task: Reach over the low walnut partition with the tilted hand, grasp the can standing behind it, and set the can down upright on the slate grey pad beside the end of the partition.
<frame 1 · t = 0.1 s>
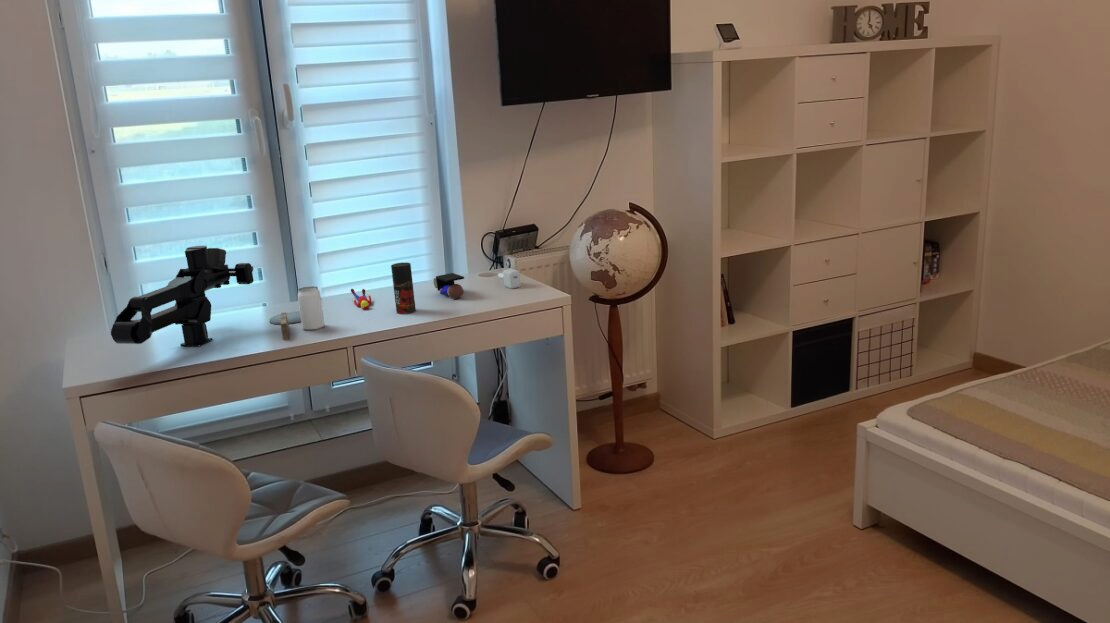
hand: (239, 267, 265), 17 cm above the table, tool horizontal, fingers open, 9 cm apart
character figure: (362, 304, 280), on the table
partition: (285, 332, 250), on the table
power adapter: (508, 286, 290), on the table
pad: (291, 318, 266), on the table
deodorant: (406, 312, 265), on the table
can: (313, 328, 254), on the table
figurine character: (450, 296, 282), on the table
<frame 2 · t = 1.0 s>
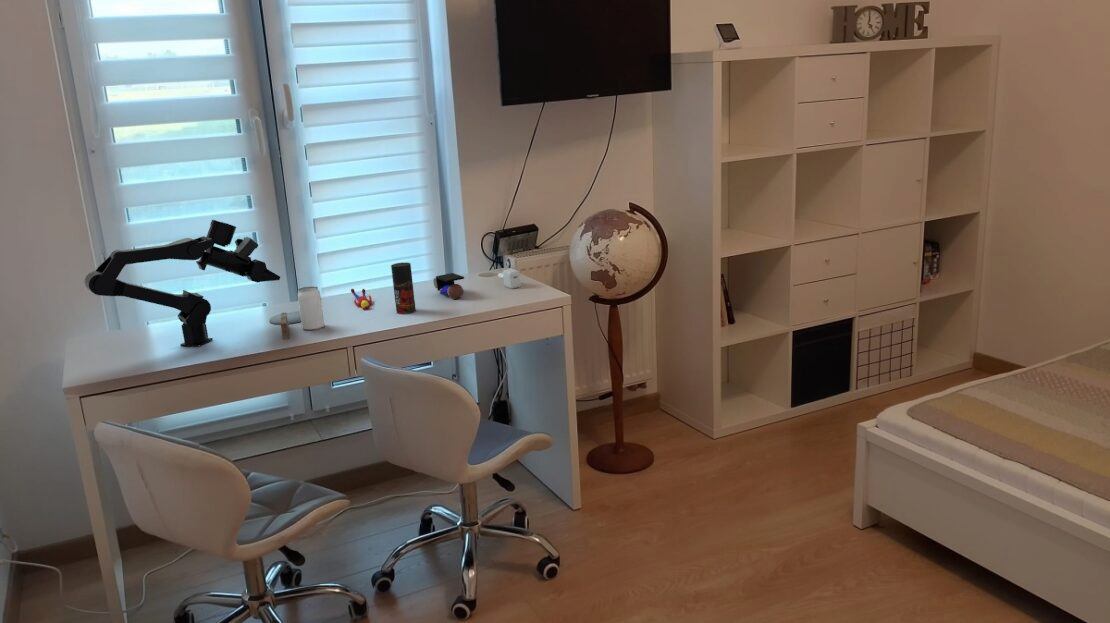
hand: (274, 276, 256), 15 cm above the table, tool tilted 60°, fingers open, 9 cm apart
nothing on the table moved.
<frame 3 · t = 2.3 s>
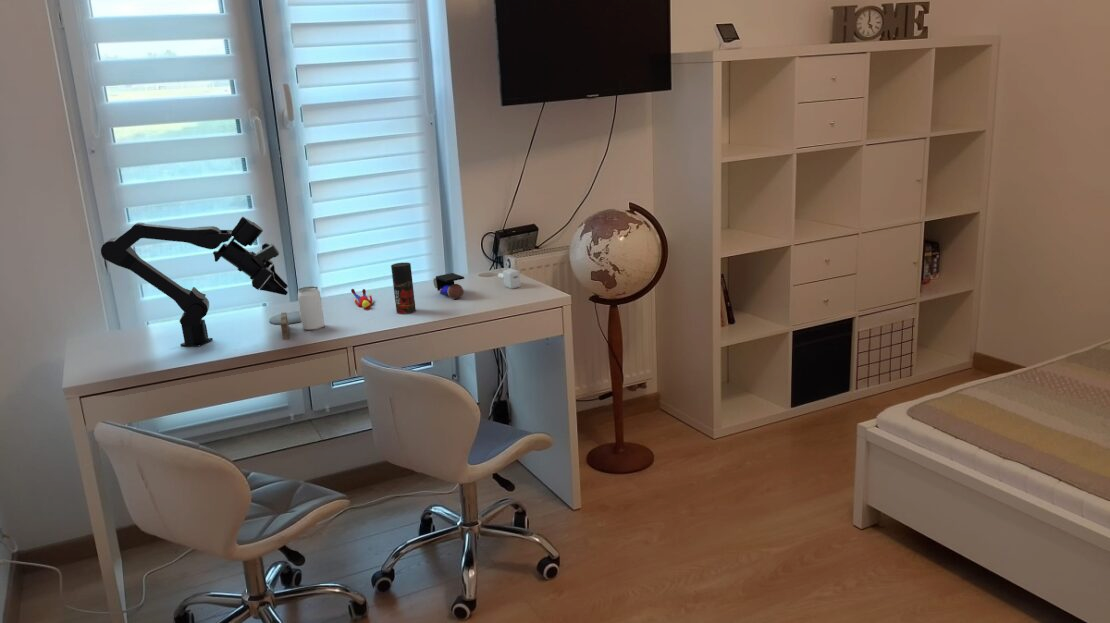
hand: (286, 290, 249), 12 cm above the table, tool tilted 45°, fingers open, 9 cm apart
nothing on the table moved.
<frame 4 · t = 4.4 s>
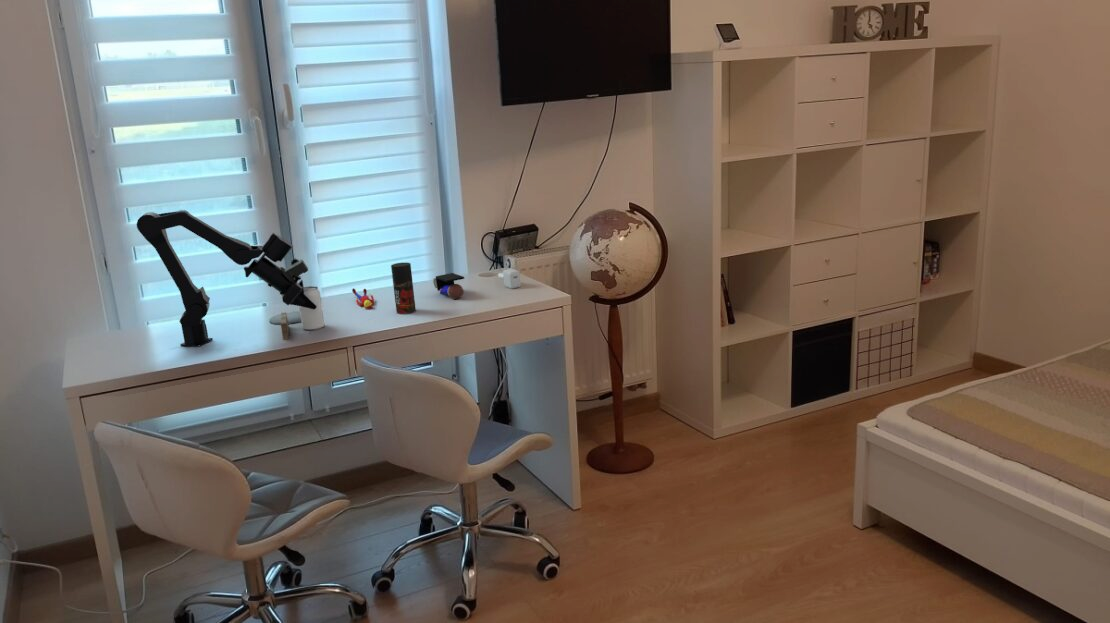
hand: (315, 305, 253), 7 cm above the table, tool tilted 45°, fingers closed on can, 6 cm apart
can: (313, 328, 254), on the table, touching gripper
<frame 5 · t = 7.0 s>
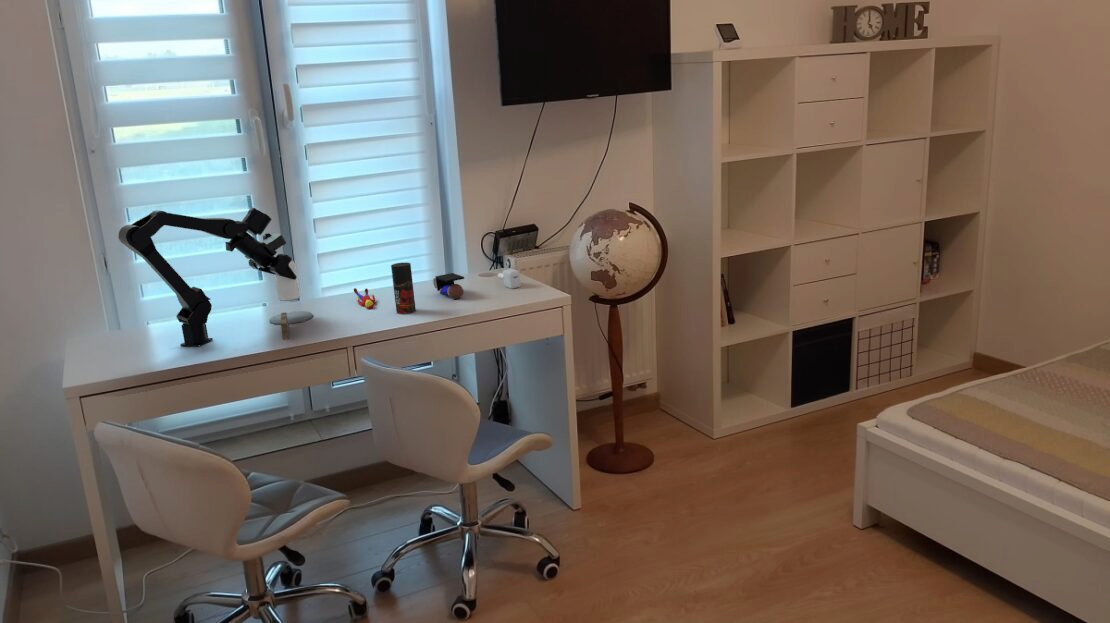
hand: (290, 277, 263), 13 cm above the table, tool tilted 45°, fingers closed on can, 6 cm apart
can: (289, 299, 263), point 6 cm above the table, touching gripper
when the fingers open (8 cm above the table, at t = 8.7 s): can drops 1 cm, resting on pad.
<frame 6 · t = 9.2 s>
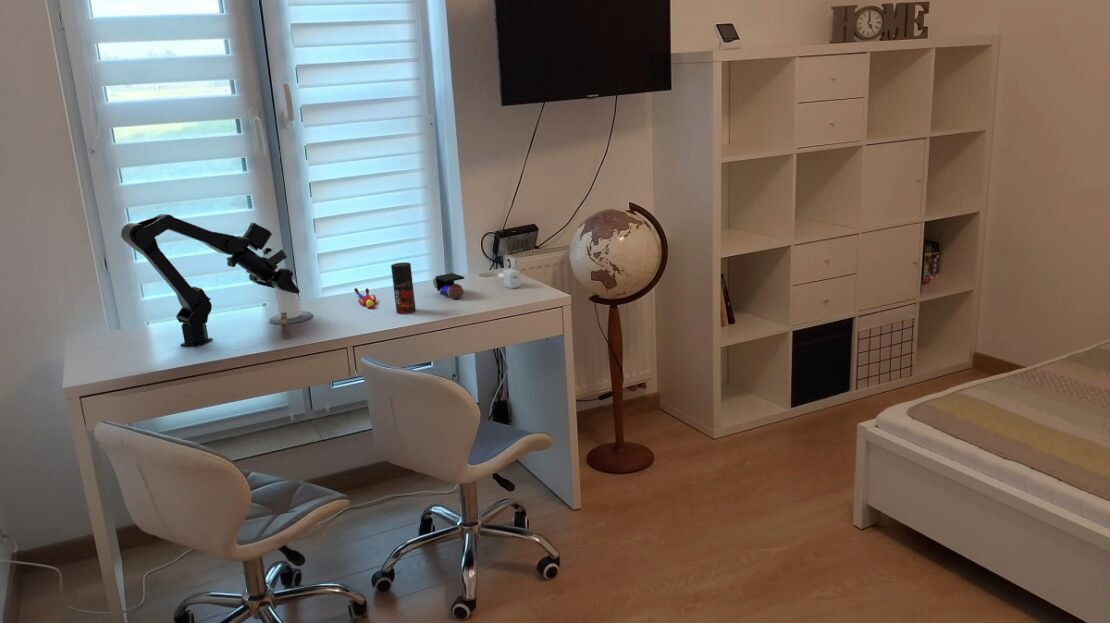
hand: (291, 290, 264), 9 cm above the table, tool tilted 45°, fingers open, 9 cm apart
can: (290, 317, 265), resting on pad
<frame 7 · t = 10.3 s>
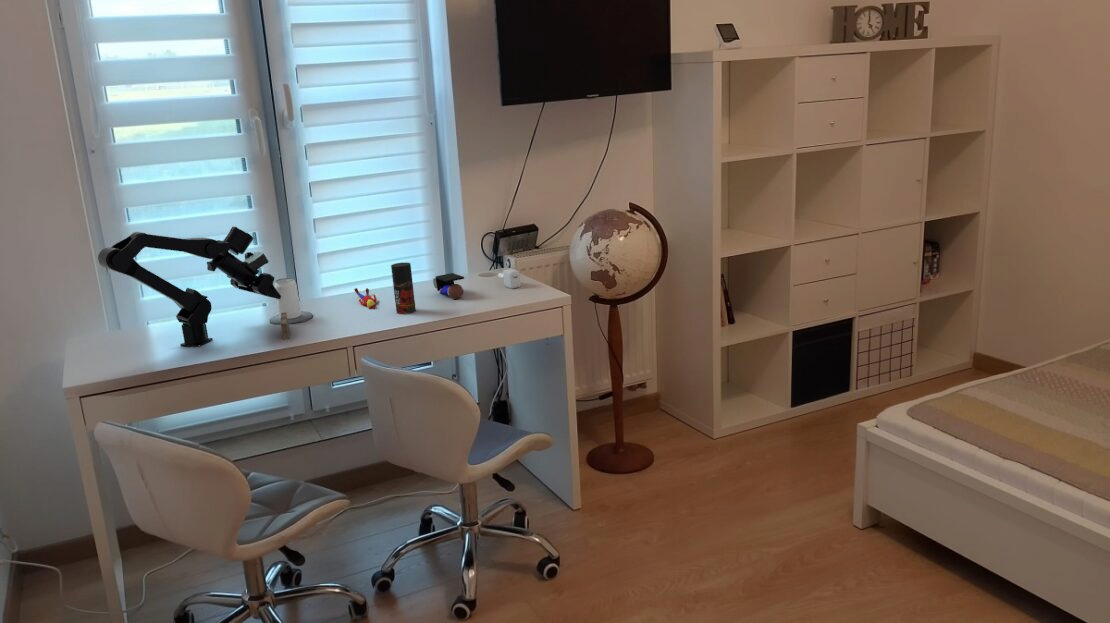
hand: (272, 295, 260), 8 cm above the table, tool tilted 45°, fingers open, 9 cm apart
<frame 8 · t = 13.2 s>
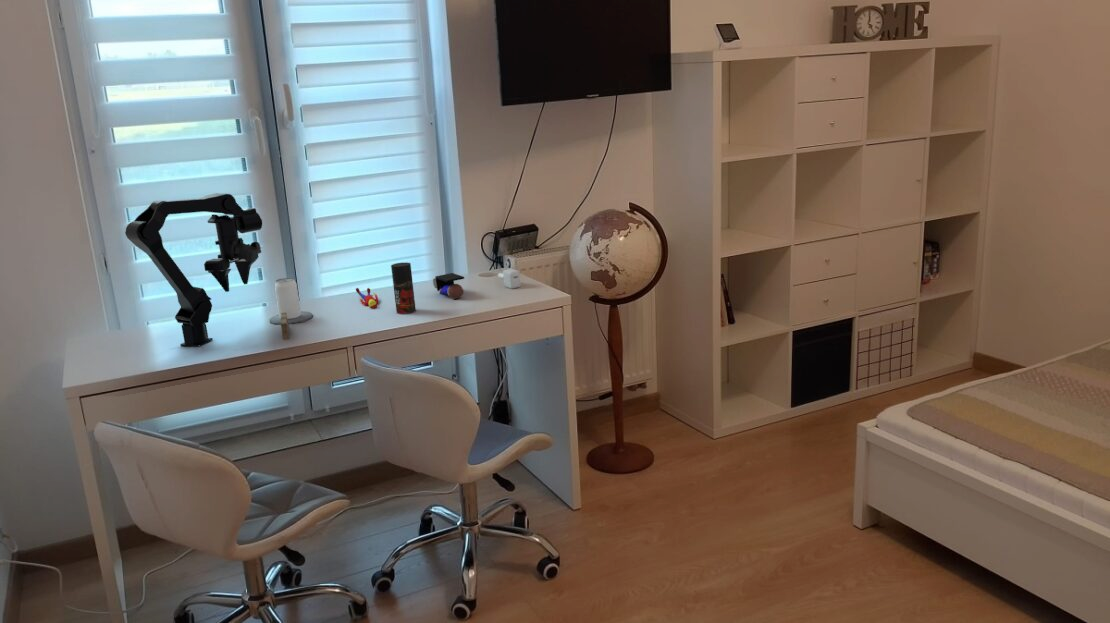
hand: (236, 287, 253), 13 cm above the table, tool pointing down, fingers open, 9 cm apart
at the end: can inside the target area on the pad (0.2 cm from its centre), point 0.4 cm above the pad's base; can tilted 0°; the gripper is holding nothing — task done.
